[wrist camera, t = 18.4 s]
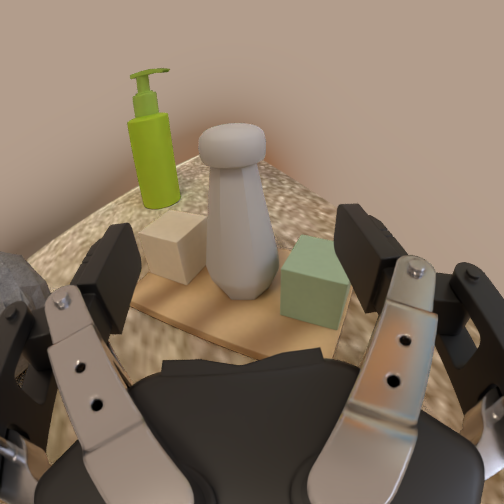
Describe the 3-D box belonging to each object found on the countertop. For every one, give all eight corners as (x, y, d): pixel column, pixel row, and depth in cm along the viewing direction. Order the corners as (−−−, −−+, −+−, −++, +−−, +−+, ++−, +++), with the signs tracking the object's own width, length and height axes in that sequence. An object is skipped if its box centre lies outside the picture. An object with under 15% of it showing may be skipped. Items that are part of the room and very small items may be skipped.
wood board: (126, 304, 24) (122, 296, 23) (197, 236, 33) (195, 229, 32) (324, 381, 17) (326, 373, 17) (356, 273, 26) (358, 265, 25)
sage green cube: (279, 315, 21) (280, 268, 19) (298, 278, 24) (301, 233, 22) (337, 330, 19) (348, 284, 17) (349, 291, 23) (358, 246, 20)
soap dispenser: (176, 209, 39) (155, 66, 27) (136, 208, 40) (112, 78, 29) (192, 192, 43) (176, 65, 32) (155, 192, 45) (136, 74, 33)
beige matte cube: (150, 272, 26) (137, 232, 23) (177, 247, 29) (169, 209, 27) (187, 285, 24) (176, 242, 22) (213, 256, 28) (207, 215, 25)
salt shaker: (234, 256, 27) (221, 118, 20) (290, 273, 25) (291, 120, 17) (197, 294, 23) (166, 135, 16) (258, 318, 21) (247, 137, 13)
